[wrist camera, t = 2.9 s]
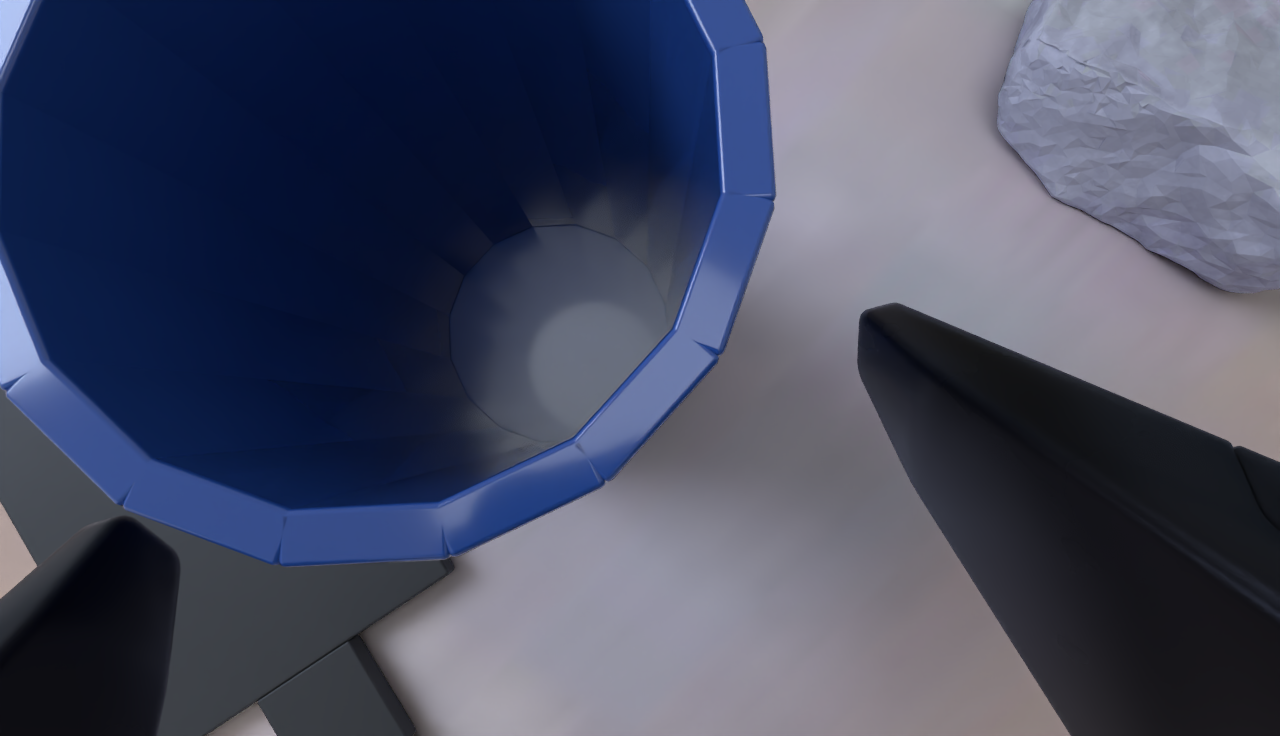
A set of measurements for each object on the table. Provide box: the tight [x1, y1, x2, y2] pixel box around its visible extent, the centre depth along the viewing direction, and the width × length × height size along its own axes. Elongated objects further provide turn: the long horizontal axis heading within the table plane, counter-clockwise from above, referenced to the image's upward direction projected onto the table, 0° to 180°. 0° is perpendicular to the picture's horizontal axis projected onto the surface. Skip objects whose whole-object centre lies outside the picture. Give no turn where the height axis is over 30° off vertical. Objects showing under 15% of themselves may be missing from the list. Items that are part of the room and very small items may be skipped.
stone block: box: [997, 0, 1280, 293], centre depth 17 cm, size 12×5×10 cm
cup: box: [0, 0, 776, 567], centre depth 11 cm, size 7×7×12 cm
